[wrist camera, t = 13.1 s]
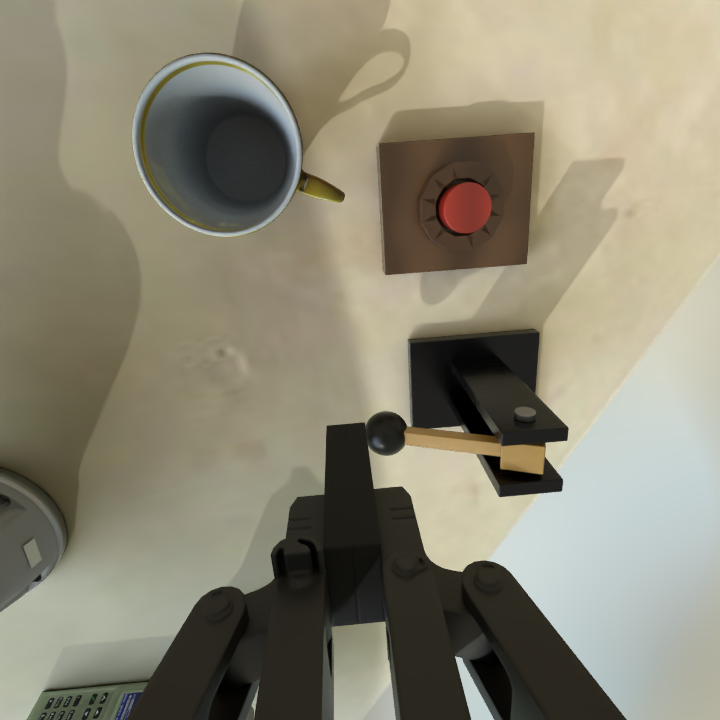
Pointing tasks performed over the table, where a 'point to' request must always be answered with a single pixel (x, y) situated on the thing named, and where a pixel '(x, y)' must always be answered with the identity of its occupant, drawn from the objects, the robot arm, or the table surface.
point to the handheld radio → (88, 703)
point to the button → (465, 207)
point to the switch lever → (450, 443)
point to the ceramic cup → (220, 146)
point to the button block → (429, 182)
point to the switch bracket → (486, 398)
